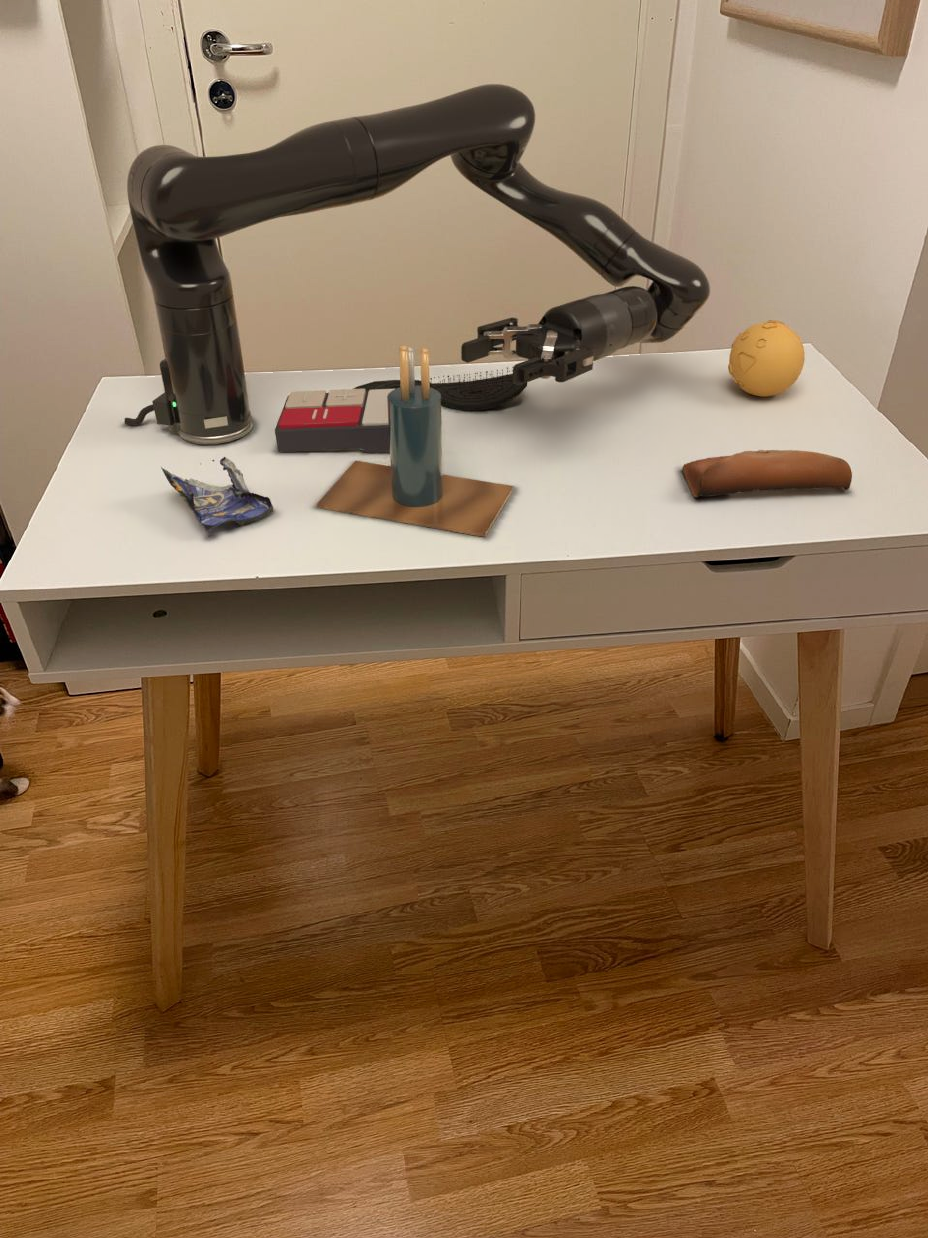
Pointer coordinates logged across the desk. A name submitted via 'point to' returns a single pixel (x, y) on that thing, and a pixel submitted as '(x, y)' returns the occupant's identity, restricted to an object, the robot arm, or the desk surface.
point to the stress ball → (766, 358)
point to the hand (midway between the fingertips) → (488, 364)
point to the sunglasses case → (766, 472)
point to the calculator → (334, 421)
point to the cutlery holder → (415, 435)
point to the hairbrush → (465, 391)
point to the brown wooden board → (457, 510)
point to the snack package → (221, 499)
